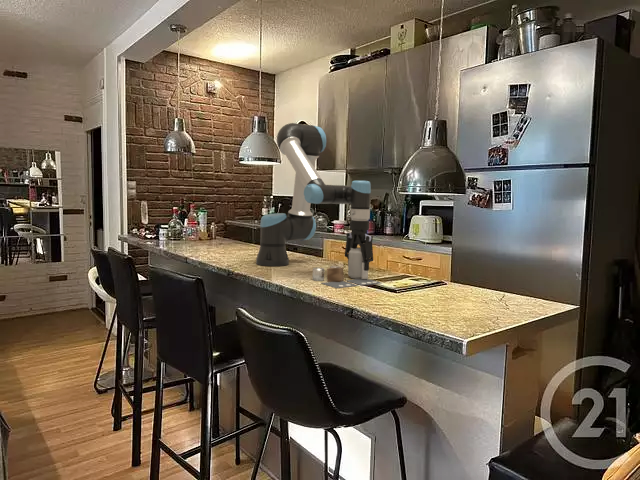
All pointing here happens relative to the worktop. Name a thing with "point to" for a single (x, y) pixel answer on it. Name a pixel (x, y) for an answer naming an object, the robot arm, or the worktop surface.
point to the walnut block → (335, 274)
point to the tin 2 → (334, 267)
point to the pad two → (339, 284)
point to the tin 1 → (318, 274)
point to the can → (355, 263)
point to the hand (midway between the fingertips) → (357, 276)
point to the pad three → (363, 282)
